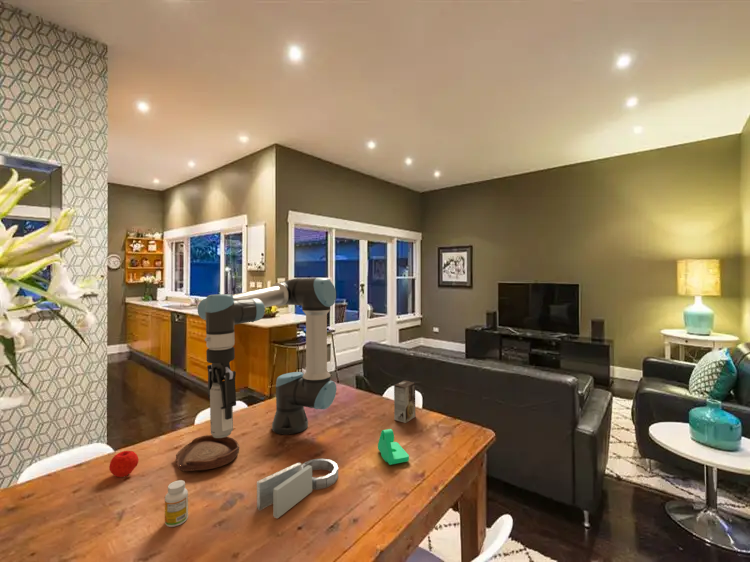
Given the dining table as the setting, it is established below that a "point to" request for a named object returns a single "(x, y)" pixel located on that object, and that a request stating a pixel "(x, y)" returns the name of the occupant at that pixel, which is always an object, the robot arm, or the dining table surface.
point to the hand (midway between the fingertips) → (222, 425)
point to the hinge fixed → (272, 481)
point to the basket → (207, 453)
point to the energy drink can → (217, 413)
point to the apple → (123, 463)
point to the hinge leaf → (292, 491)
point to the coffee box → (404, 401)
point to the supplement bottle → (176, 504)
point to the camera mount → (391, 448)
